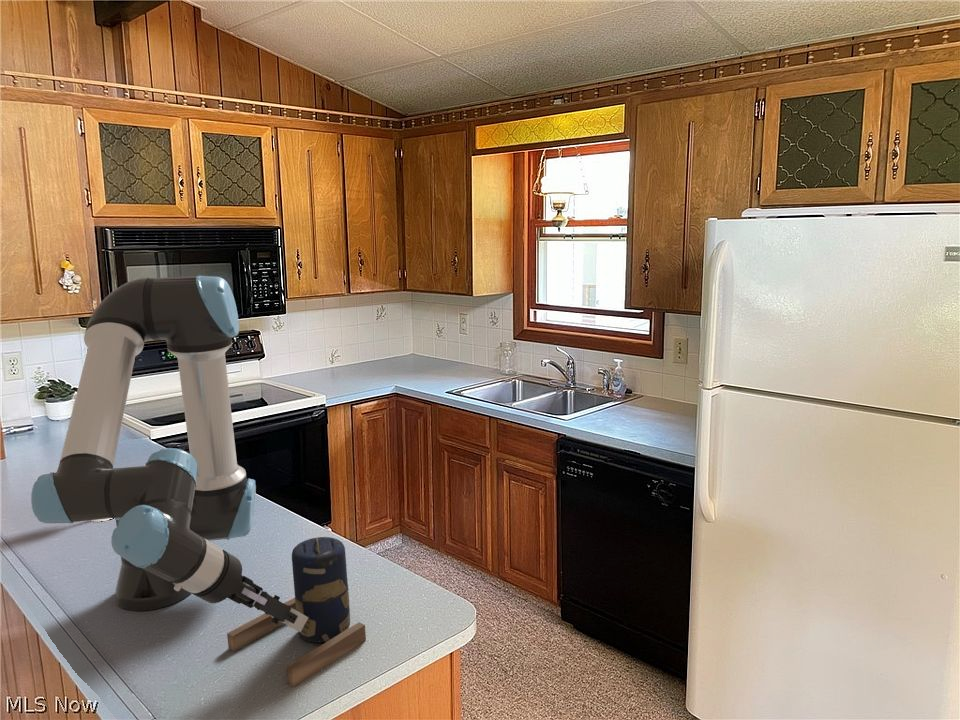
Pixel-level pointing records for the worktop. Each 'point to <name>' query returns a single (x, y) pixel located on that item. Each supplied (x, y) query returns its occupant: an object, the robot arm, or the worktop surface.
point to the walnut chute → (311, 660)
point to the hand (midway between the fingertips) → (301, 623)
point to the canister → (321, 587)
